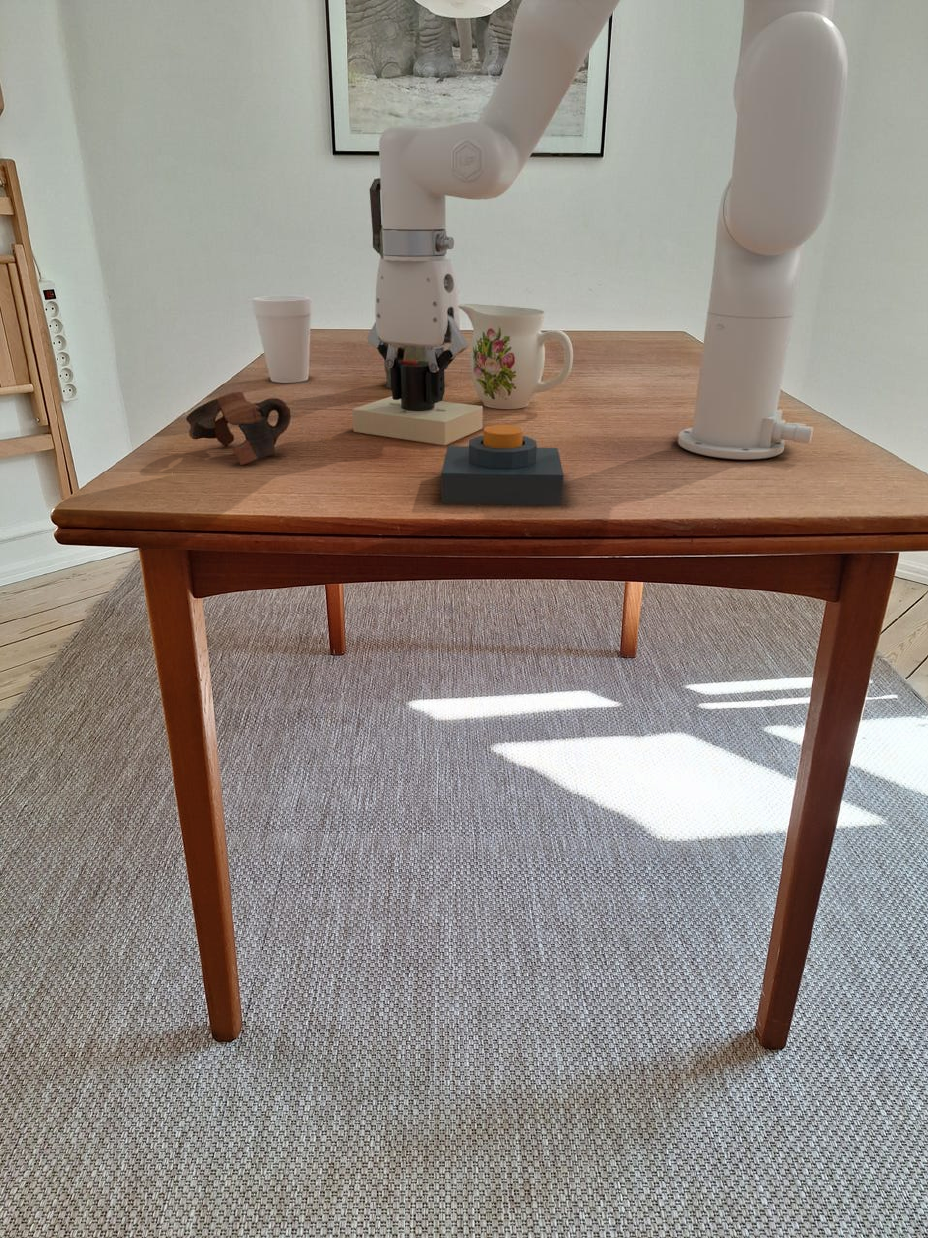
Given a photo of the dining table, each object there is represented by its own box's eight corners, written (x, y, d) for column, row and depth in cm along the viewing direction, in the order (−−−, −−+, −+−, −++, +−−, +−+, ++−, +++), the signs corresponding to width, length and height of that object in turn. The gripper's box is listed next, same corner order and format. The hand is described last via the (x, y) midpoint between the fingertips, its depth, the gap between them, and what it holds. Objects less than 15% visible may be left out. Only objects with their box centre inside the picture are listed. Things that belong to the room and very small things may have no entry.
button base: (556, 476, 90) (558, 431, 87) (561, 505, 81) (564, 456, 78) (447, 474, 90) (447, 429, 88) (441, 503, 81) (441, 454, 79)
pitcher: (556, 418, 114) (562, 314, 107) (441, 406, 120) (441, 307, 114) (580, 403, 123) (587, 306, 116) (472, 392, 129) (473, 300, 123)
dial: (440, 405, 107) (440, 360, 104) (423, 412, 104) (422, 365, 101) (412, 402, 109) (411, 357, 106) (394, 408, 106) (392, 362, 103)
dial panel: (482, 428, 109) (482, 404, 107) (444, 445, 101) (444, 420, 99) (395, 416, 115) (394, 393, 113) (353, 431, 107) (351, 407, 105)
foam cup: (311, 384, 135) (304, 301, 129) (255, 384, 135) (246, 301, 129) (321, 374, 143) (315, 295, 137) (268, 373, 143) (260, 295, 137)
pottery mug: (220, 476, 91) (183, 408, 89) (209, 490, 99) (175, 428, 98) (313, 433, 95) (279, 368, 94) (295, 451, 104) (263, 391, 102)
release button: (521, 441, 85) (522, 424, 84) (522, 451, 81) (523, 434, 81) (483, 440, 85) (483, 424, 84) (482, 451, 82) (483, 433, 81)
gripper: (490, 247, 97) (488, 401, 105) (374, 243, 104) (380, 388, 113) (459, 249, 91) (459, 413, 99) (338, 245, 98) (348, 398, 107)
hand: (417, 398), depth 106 cm, fingers closed on dial, 4 cm apart
